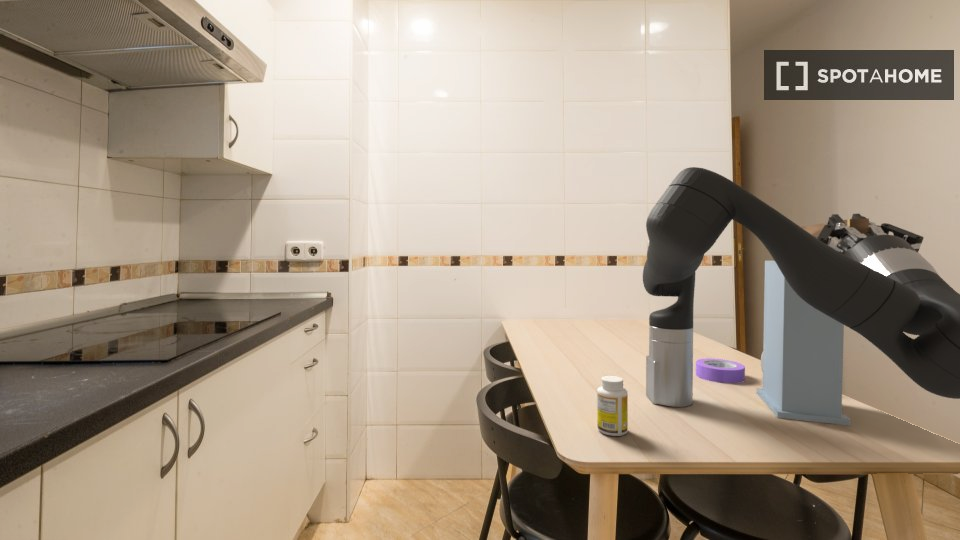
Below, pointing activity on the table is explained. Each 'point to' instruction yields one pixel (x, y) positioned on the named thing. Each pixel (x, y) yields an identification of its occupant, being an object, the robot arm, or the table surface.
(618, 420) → the supplement bottle
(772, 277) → the pale blue pedestal
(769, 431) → the table surface
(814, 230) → the brown wooden bar
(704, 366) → the masking tape
